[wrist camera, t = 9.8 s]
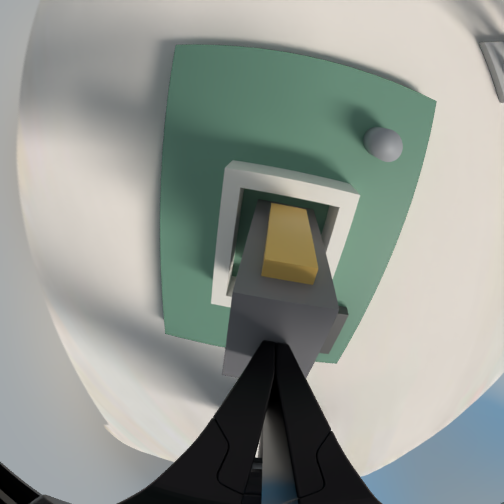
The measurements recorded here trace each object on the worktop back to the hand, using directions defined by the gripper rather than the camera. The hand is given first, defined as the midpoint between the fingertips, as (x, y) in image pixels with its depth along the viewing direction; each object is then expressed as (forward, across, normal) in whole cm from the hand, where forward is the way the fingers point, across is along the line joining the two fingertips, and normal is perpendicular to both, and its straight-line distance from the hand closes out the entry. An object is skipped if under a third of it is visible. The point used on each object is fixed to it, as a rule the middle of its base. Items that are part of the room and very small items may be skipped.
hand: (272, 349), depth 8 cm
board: (+9, 0, 0) cm, 9 cm away
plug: (+8, 0, 0) cm, 8 cm away
